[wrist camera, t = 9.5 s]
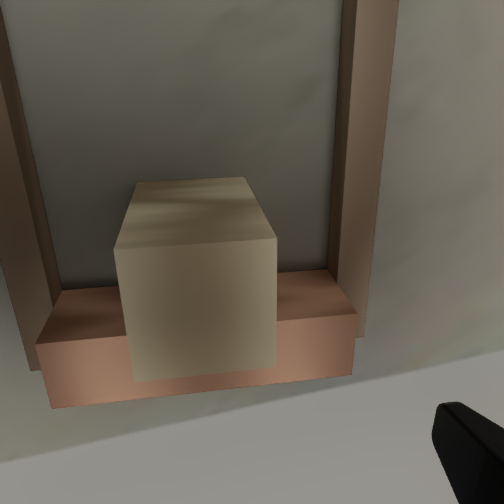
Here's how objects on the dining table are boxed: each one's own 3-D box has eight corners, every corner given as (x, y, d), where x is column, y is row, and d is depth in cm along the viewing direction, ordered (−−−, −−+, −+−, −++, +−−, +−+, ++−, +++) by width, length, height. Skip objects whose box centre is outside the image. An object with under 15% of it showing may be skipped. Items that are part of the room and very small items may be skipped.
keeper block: (149, 278, 20) (134, 382, 13) (137, 182, 18) (113, 250, 12) (246, 270, 20) (276, 366, 14) (244, 176, 18) (277, 238, 12)
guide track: (40, 350, 20) (10, 413, 17) (-83, -131, 13) (-183, -201, 10) (352, 319, 22) (385, 371, 19) (392, -114, 15) (458, -168, 11)
